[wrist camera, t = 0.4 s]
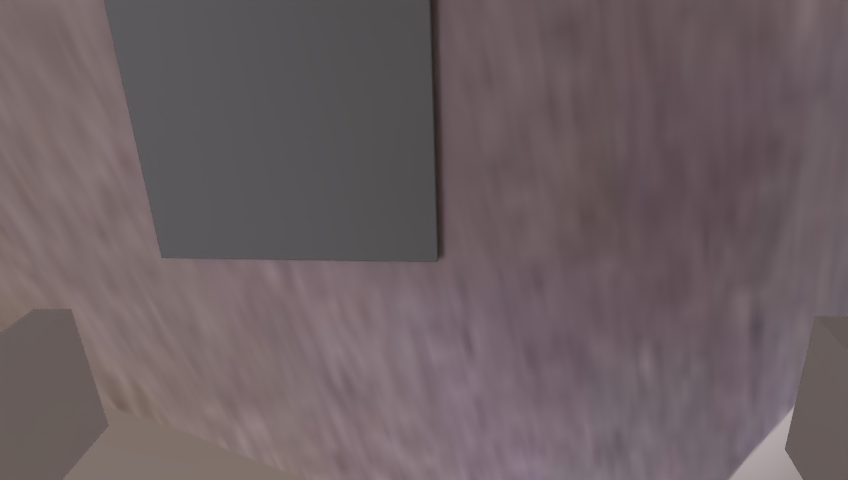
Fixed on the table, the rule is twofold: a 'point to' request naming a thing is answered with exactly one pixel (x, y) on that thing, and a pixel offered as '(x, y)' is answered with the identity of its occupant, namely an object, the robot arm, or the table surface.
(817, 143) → the table surface
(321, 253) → the mat
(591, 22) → the table surface
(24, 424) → the robot arm
